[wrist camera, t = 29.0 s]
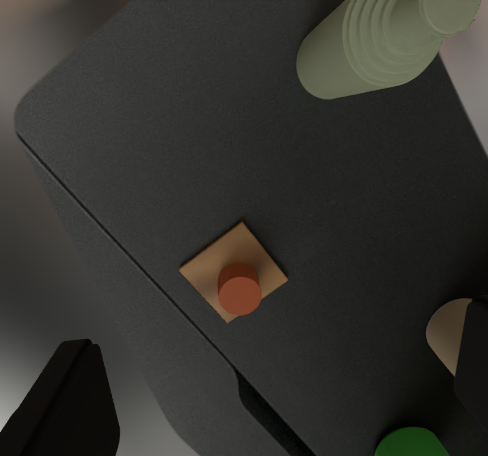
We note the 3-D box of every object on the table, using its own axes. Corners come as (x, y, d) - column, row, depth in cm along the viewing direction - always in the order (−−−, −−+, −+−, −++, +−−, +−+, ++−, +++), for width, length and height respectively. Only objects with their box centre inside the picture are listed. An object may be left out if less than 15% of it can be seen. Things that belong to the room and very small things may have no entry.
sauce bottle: (282, 68, 29) (357, 9, 14) (327, 7, 28) (461, -127, 13) (331, 113, 31) (447, 104, 16) (376, 57, 30) (547, -12, 15)
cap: (233, 306, 35) (235, 323, 32) (209, 278, 34) (209, 293, 31) (265, 284, 35) (270, 299, 32) (242, 255, 34) (245, 268, 31)
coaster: (178, 268, 34) (178, 270, 34) (241, 220, 33) (242, 222, 33) (227, 320, 36) (227, 323, 36) (287, 278, 36) (288, 280, 35)
